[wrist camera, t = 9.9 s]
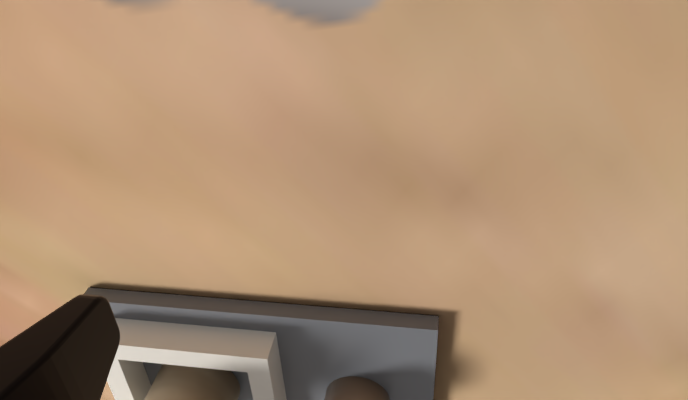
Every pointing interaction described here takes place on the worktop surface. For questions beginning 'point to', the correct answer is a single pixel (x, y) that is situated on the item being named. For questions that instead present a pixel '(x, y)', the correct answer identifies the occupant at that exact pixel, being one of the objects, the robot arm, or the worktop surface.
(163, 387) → the beige rounded cylinder
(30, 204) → the worktop surface
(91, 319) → the robot arm
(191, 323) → the board
